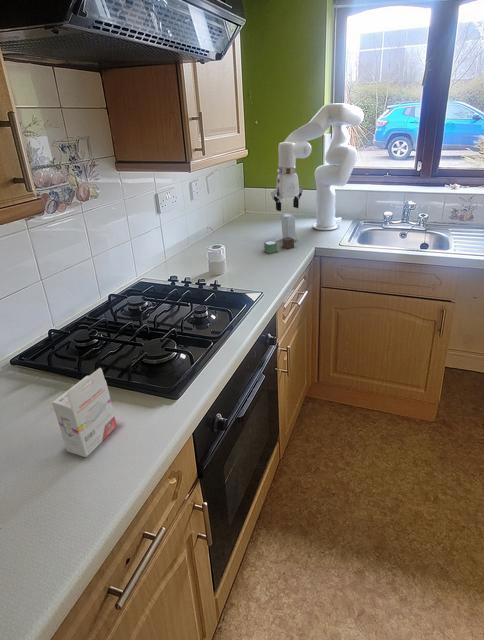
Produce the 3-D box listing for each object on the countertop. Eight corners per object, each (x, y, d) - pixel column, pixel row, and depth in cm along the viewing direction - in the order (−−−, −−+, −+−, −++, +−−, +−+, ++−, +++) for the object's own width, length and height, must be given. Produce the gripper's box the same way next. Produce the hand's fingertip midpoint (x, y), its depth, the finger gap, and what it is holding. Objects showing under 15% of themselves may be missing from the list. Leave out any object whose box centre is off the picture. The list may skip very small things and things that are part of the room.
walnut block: (289, 245, 186) (289, 236, 185) (294, 247, 183) (294, 238, 182) (282, 246, 184) (281, 238, 183) (287, 249, 181) (286, 240, 180)
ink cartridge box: (98, 421, 84) (83, 361, 78) (117, 427, 82) (104, 366, 77) (65, 451, 77) (46, 388, 71) (85, 459, 75) (67, 394, 69)
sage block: (271, 249, 182) (271, 240, 180) (276, 251, 179) (276, 243, 177) (264, 251, 180) (264, 242, 178) (269, 253, 177) (269, 244, 175)
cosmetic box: (296, 241, 192) (295, 216, 187) (288, 242, 190) (287, 217, 185) (289, 237, 197) (288, 213, 192) (281, 239, 195) (280, 214, 190)
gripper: (275, 173, 174) (276, 213, 180) (307, 170, 182) (307, 207, 189) (266, 172, 179) (267, 210, 186) (297, 168, 188) (297, 205, 194)
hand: (287, 209), depth 187 cm, fingers open, 9 cm apart
